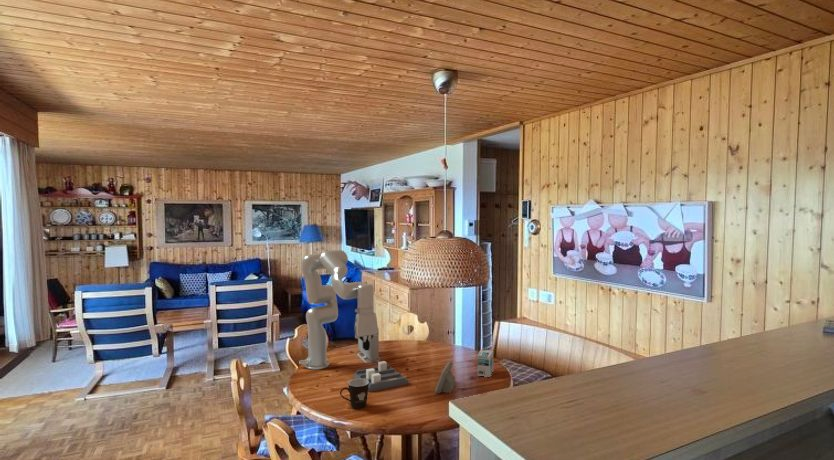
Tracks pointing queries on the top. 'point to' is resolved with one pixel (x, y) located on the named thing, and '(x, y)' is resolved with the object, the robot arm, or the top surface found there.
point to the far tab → (382, 366)
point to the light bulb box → (485, 363)
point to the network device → (370, 350)
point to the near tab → (375, 378)
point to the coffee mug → (357, 393)
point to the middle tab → (369, 373)
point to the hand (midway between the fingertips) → (366, 349)
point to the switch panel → (383, 378)
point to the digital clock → (446, 380)
